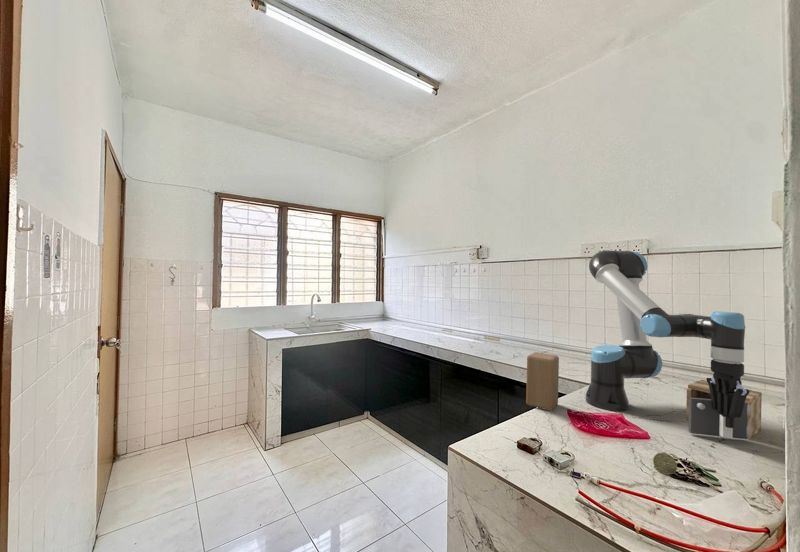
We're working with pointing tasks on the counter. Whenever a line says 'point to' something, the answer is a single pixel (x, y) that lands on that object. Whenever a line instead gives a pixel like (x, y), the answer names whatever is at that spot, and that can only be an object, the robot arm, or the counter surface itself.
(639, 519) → the counter surface
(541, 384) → the wooden block
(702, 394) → the box
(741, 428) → the door
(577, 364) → the counter surface
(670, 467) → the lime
